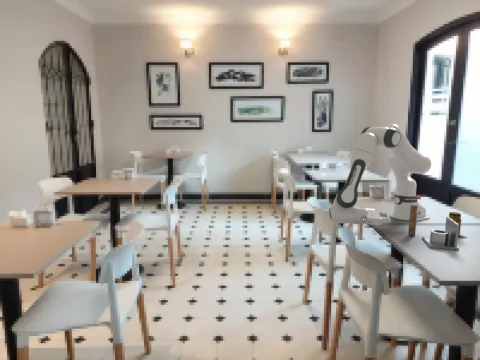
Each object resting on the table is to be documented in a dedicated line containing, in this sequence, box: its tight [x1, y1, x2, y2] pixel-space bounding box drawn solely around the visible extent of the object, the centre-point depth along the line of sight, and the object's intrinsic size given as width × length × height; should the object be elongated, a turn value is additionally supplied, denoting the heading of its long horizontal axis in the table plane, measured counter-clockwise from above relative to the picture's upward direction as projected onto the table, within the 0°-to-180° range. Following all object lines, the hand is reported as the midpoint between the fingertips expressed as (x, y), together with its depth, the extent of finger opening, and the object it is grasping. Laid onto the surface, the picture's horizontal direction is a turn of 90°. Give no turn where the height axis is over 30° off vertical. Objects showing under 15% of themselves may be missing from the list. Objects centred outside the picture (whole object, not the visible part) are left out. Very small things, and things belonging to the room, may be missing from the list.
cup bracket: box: [421, 216, 460, 251], centre depth 170 cm, size 12×14×12 cm
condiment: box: [448, 211, 466, 239], centre depth 184 cm, size 7×8×12 cm
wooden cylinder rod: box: [407, 205, 418, 238], centre depth 182 cm, size 3×3×16 cm
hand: (388, 217), depth 185 cm, fingers open, 8 cm apart
